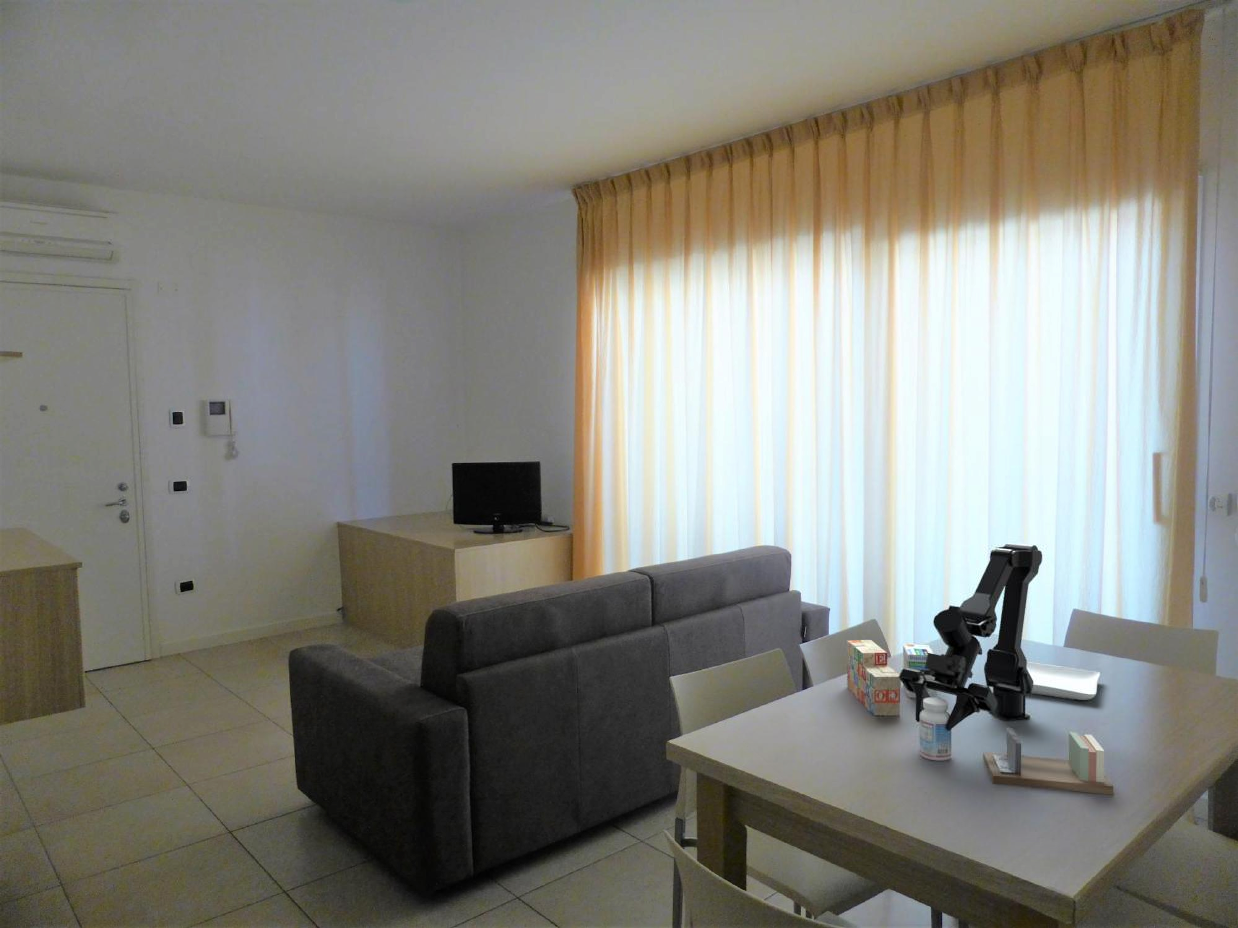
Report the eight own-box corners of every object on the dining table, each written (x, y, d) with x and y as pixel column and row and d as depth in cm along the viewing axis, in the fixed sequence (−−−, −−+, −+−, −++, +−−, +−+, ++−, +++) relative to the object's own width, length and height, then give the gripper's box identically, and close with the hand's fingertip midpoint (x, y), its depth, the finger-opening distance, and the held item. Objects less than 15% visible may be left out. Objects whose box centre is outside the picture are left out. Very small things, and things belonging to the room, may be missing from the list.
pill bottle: (950, 751, 171) (951, 697, 170) (952, 763, 165) (952, 707, 165) (918, 748, 173) (919, 694, 172) (919, 759, 167) (919, 704, 167)
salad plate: (1100, 683, 215) (1100, 670, 215) (1095, 707, 197) (1095, 693, 197) (1010, 670, 227) (1010, 658, 226) (997, 692, 209) (998, 679, 209)
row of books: (1068, 762, 161) (1069, 732, 161) (1091, 764, 160) (1091, 733, 160) (1080, 779, 154) (1080, 747, 153) (1104, 782, 153) (1104, 749, 152)
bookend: (992, 756, 165) (993, 726, 164) (1012, 757, 164) (1012, 727, 164) (1000, 772, 157) (1001, 741, 157) (1020, 774, 156) (1021, 743, 156)
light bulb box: (936, 699, 203) (937, 655, 202) (907, 698, 204) (908, 654, 204) (929, 686, 213) (930, 644, 213) (902, 684, 215) (902, 642, 214)
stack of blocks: (900, 716, 192) (901, 663, 192) (873, 716, 192) (874, 663, 191) (870, 686, 214) (871, 638, 213) (846, 687, 213) (846, 639, 213)
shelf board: (983, 760, 167) (983, 752, 167) (1094, 769, 162) (1094, 761, 162) (993, 783, 156) (993, 775, 156) (1113, 794, 151) (1113, 786, 151)
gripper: (903, 629, 178) (874, 692, 171) (991, 646, 164) (964, 715, 157) (922, 658, 183) (895, 720, 176) (1008, 677, 169) (982, 746, 162)
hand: (931, 725), depth 168 cm, fingers closed on pill bottle, 6 cm apart
